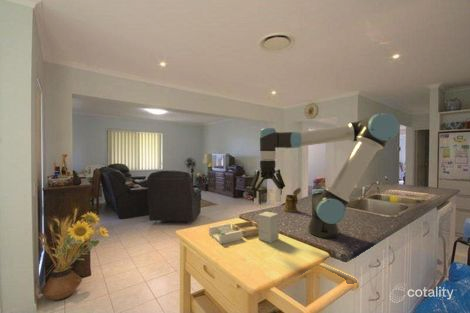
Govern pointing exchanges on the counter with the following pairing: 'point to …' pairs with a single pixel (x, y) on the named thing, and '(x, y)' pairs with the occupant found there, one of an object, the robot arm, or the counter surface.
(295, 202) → the wooden mug
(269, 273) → the counter surface
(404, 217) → the counter surface
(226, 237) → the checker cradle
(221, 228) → the cradle platform
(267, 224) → the supplement box
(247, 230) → the wooden trough
